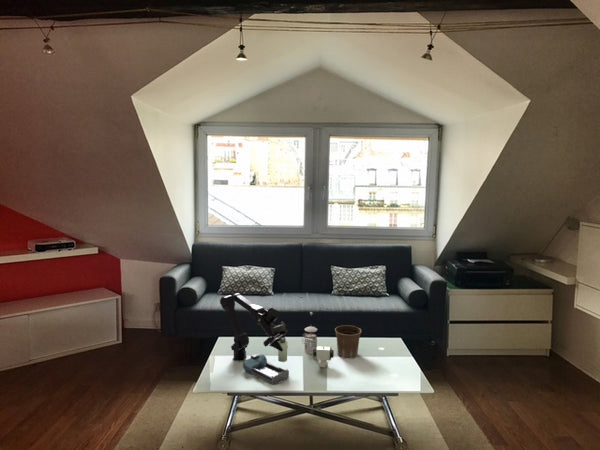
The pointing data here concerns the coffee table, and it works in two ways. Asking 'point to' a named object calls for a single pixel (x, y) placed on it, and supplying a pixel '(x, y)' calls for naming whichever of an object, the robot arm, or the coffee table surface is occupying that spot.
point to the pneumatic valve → (323, 355)
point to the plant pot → (347, 341)
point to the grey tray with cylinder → (265, 369)
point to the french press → (313, 342)
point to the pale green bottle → (283, 354)
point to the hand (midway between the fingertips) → (284, 349)
